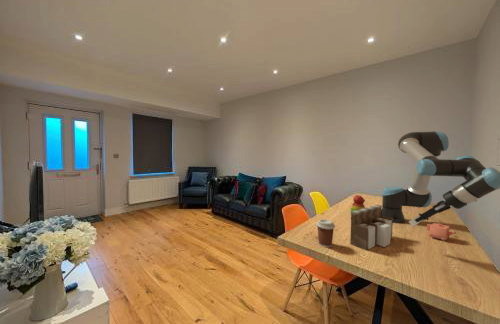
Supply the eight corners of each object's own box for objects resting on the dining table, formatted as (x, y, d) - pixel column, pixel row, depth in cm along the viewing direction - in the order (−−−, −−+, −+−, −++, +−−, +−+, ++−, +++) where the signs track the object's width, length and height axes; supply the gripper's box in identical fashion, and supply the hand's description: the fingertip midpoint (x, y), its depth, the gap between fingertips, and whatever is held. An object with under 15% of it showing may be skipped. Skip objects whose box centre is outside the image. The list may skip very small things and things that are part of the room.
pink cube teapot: (454, 244, 106) (454, 228, 105) (424, 236, 115) (425, 222, 115) (457, 240, 110) (457, 225, 110) (428, 233, 120) (429, 220, 120)
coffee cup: (330, 240, 110) (330, 218, 109) (337, 248, 101) (338, 224, 100) (313, 240, 109) (313, 218, 109) (319, 248, 100) (320, 224, 100)
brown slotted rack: (376, 233, 120) (377, 204, 120) (392, 237, 113) (393, 207, 113) (350, 243, 105) (350, 211, 105) (366, 250, 98) (367, 215, 98)
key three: (362, 241, 108) (363, 222, 107) (374, 246, 103) (375, 226, 102) (356, 244, 104) (357, 225, 104) (368, 249, 99) (369, 228, 99)
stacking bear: (368, 223, 138) (369, 197, 137) (352, 222, 140) (353, 196, 139) (363, 218, 148) (364, 194, 147) (348, 217, 150) (349, 193, 149)
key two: (377, 240, 110) (377, 221, 109) (389, 244, 105) (390, 224, 104) (371, 242, 107) (372, 223, 106) (384, 247, 102) (384, 227, 101)
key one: (379, 234, 117) (380, 217, 117) (391, 238, 112) (391, 220, 112) (374, 236, 114) (374, 219, 114) (385, 240, 109) (386, 222, 109)
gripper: (463, 206, 81) (411, 233, 96) (472, 202, 88) (422, 228, 103) (446, 191, 85) (399, 219, 100) (455, 188, 92) (410, 215, 107)
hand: (411, 223), depth 101 cm, fingers closed
